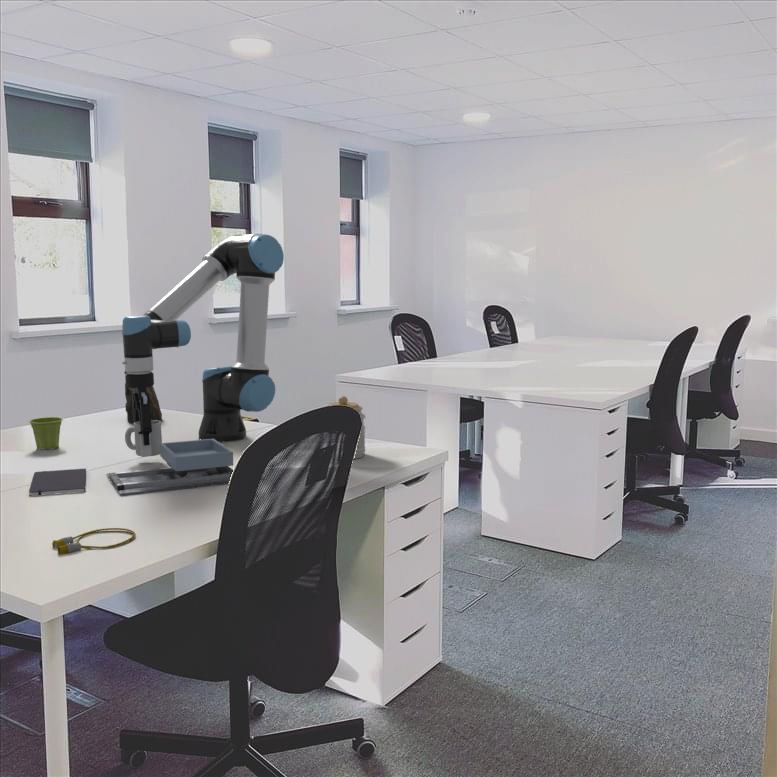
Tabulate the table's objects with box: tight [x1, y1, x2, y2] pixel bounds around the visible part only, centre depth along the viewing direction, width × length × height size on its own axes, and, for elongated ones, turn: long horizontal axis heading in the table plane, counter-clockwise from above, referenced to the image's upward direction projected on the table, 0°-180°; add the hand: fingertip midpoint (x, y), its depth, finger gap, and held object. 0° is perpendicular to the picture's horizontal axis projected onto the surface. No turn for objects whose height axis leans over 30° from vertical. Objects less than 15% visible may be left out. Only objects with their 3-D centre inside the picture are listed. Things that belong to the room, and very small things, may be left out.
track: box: [106, 466, 234, 497], centre depth 216 cm, size 30×22×2 cm
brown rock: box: [123, 370, 163, 424], centre depth 300 cm, size 13×13×20 cm
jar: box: [326, 395, 366, 460], centre depth 244 cm, size 13×13×18 cm
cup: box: [124, 420, 163, 457], centre depth 233 cm, size 7×10×9 cm
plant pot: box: [28, 416, 64, 451], centre depth 252 cm, size 9×9×9 cm
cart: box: [159, 439, 234, 477], centre depth 219 cm, size 15×19×6 cm
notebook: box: [28, 468, 87, 496], centre depth 212 cm, size 13×2×21 cm
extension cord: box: [52, 527, 136, 555], centre depth 167 cm, size 12×16×2 cm
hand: (143, 453), depth 233 cm, fingers closed on cup, 7 cm apart
